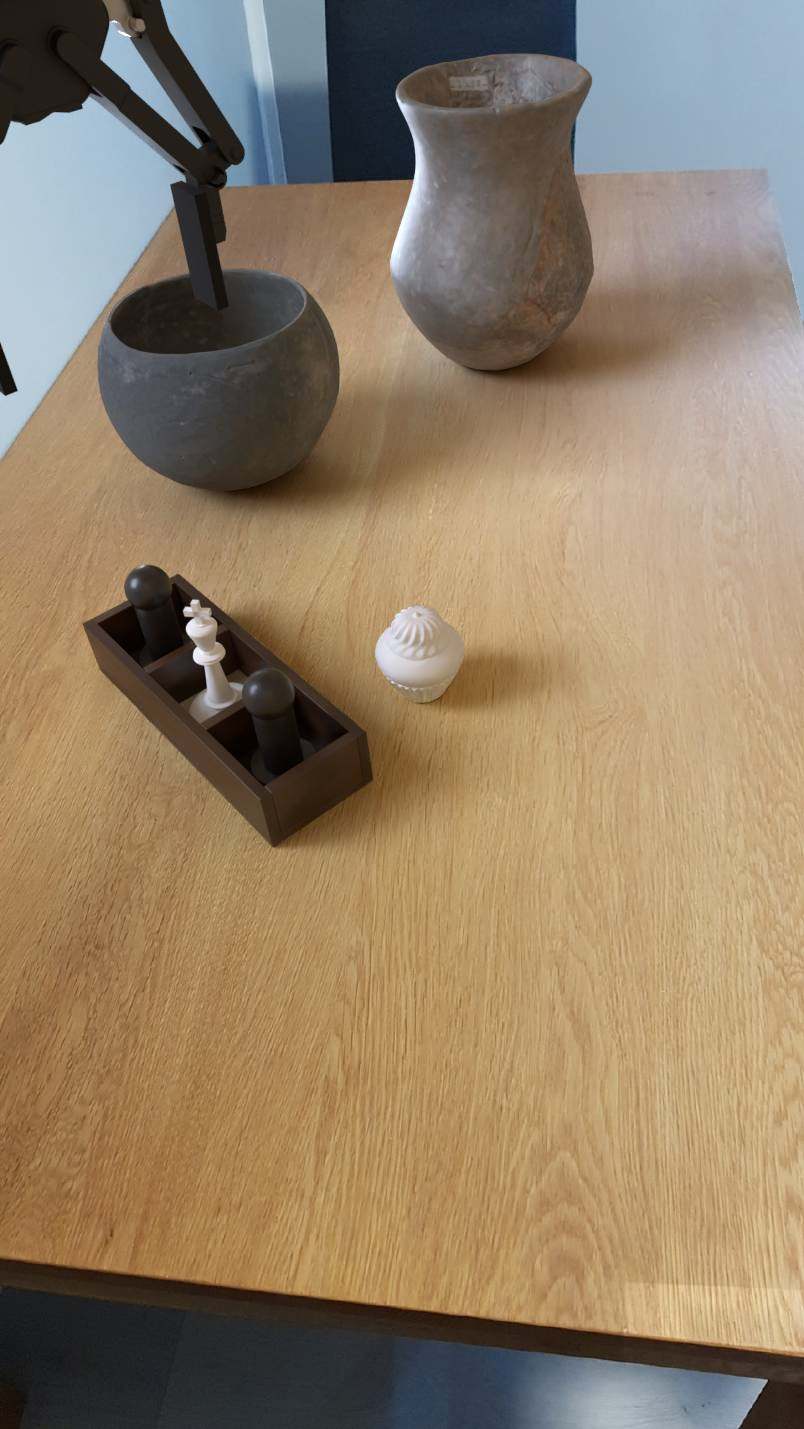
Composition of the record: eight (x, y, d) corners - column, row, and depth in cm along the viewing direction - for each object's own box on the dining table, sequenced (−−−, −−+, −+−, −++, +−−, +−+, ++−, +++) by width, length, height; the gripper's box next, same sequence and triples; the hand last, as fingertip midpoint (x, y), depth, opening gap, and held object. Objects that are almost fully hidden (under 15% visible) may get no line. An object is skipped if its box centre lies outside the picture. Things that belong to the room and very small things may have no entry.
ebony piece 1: (161, 694, 77) (130, 599, 71) (131, 664, 79) (98, 569, 73) (213, 665, 79) (186, 569, 72) (182, 636, 81) (153, 541, 75)
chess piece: (202, 686, 77) (170, 575, 70) (268, 691, 76) (242, 579, 69) (180, 736, 73) (144, 625, 66) (250, 741, 72) (220, 629, 65)
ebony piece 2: (278, 809, 68) (254, 712, 62) (240, 771, 71) (213, 675, 65) (333, 773, 70) (315, 675, 64) (294, 738, 73) (273, 640, 66)
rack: (273, 847, 67) (260, 800, 64) (99, 670, 80) (81, 623, 77) (373, 780, 70) (366, 731, 67) (191, 620, 83) (178, 573, 80)
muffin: (416, 647, 79) (409, 571, 74) (483, 679, 76) (481, 603, 71) (361, 695, 76) (350, 620, 71) (429, 731, 73) (423, 655, 68)
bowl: (339, 528, 90) (314, 362, 80) (103, 535, 92) (48, 373, 82) (360, 405, 104) (342, 249, 94) (156, 413, 107) (115, 262, 96)
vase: (362, 354, 112) (332, 86, 94) (501, 294, 119) (498, 35, 101) (485, 425, 100) (478, 135, 82) (631, 354, 107) (654, 73, 90)
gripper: (-298, -54, 39) (-72, 451, 54) (264, -165, 49) (324, 288, 64) (-343, -73, 44) (-122, 399, 59) (182, -172, 54) (256, 254, 69)
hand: (111, 342), depth 62 cm, fingers open, 13 cm apart
